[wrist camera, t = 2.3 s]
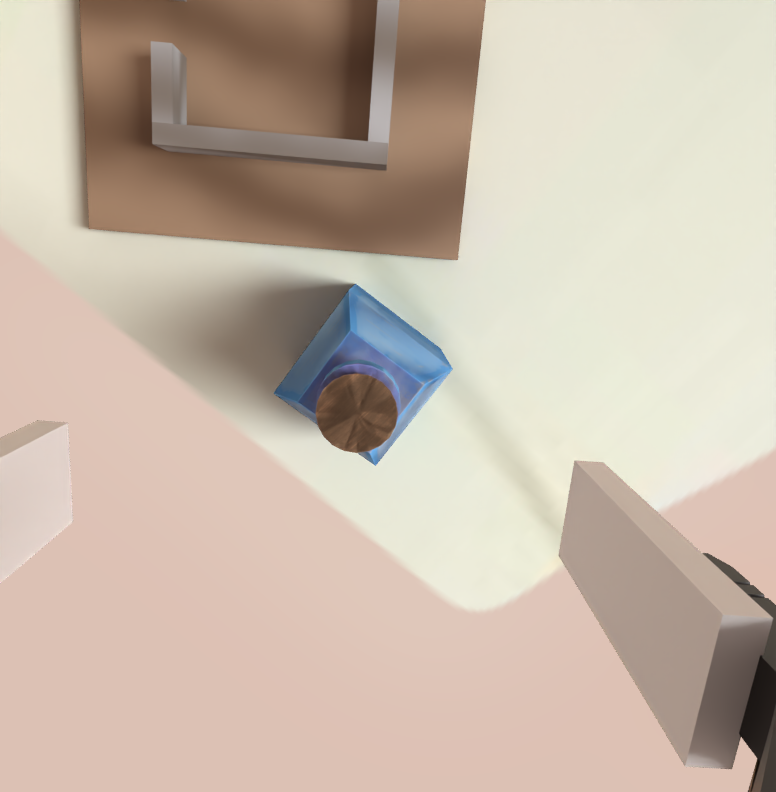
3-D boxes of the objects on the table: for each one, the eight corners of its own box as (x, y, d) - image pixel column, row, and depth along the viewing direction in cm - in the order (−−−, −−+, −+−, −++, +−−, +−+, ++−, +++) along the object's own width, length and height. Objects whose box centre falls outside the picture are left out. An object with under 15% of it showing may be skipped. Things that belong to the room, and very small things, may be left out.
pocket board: (81, -211, 27) (43, -268, 24) (501, -167, 27) (515, -218, 24) (98, 229, 31) (69, 226, 29) (455, 259, 32) (462, 260, 29)
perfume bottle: (355, 283, 32) (338, 299, 21) (440, 348, 33) (470, 398, 22) (293, 368, 34) (244, 428, 22) (377, 429, 34) (373, 517, 23)
